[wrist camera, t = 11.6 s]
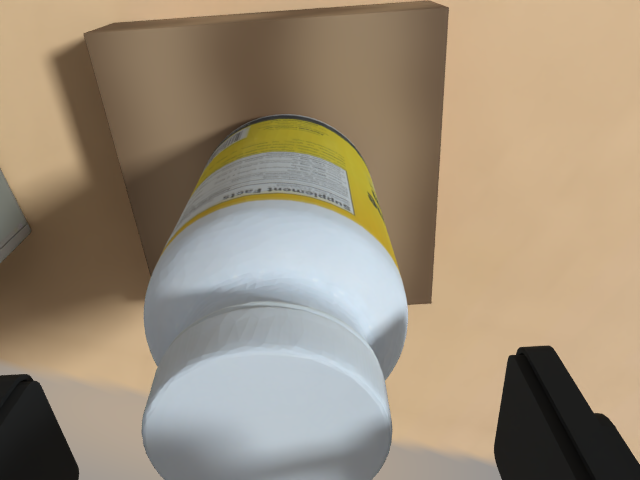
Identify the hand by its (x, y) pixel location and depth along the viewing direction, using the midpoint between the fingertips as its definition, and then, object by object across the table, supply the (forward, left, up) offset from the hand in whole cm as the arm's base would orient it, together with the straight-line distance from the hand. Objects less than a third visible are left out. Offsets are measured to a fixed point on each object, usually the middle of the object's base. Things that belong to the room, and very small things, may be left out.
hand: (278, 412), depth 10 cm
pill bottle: (0, 0, -11) cm, 11 cm away
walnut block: (0, 0, -14) cm, 14 cm away
